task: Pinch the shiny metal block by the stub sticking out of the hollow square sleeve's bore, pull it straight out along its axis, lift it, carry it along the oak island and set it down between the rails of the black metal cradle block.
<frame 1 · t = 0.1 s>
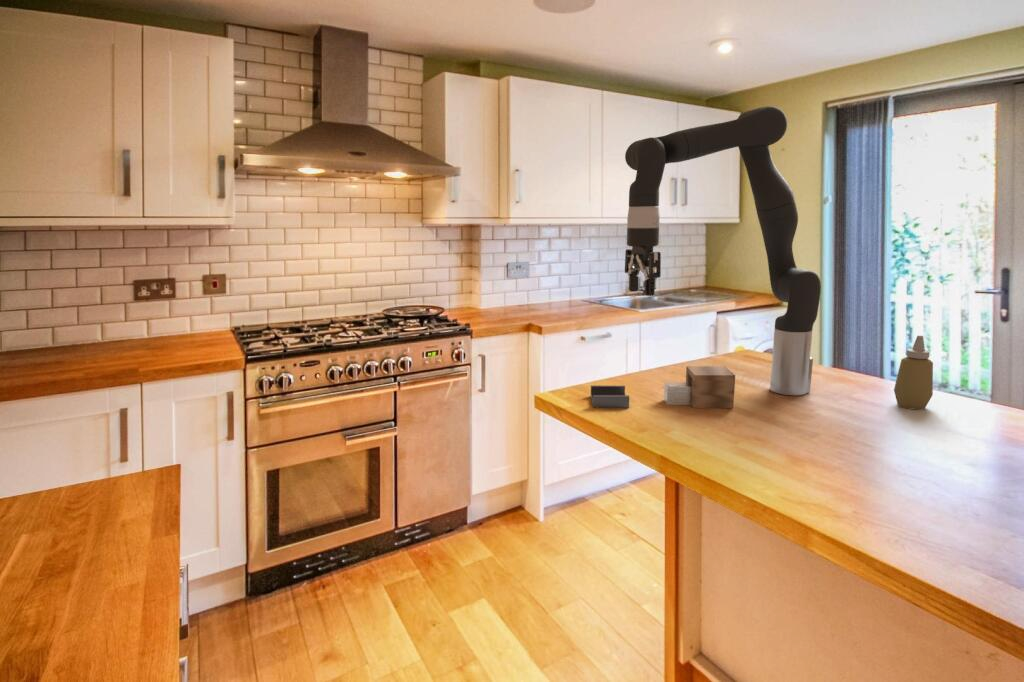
hand: (641, 293, 149), 29 cm above the countertop, fingers open, 8 cm apart
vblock: (609, 401, 159), on the countertop
shiny metal block: (686, 403, 158), on the countertop
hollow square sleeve: (708, 402, 158), on the countertop
squeeze bottle: (911, 407, 152), on the countertop
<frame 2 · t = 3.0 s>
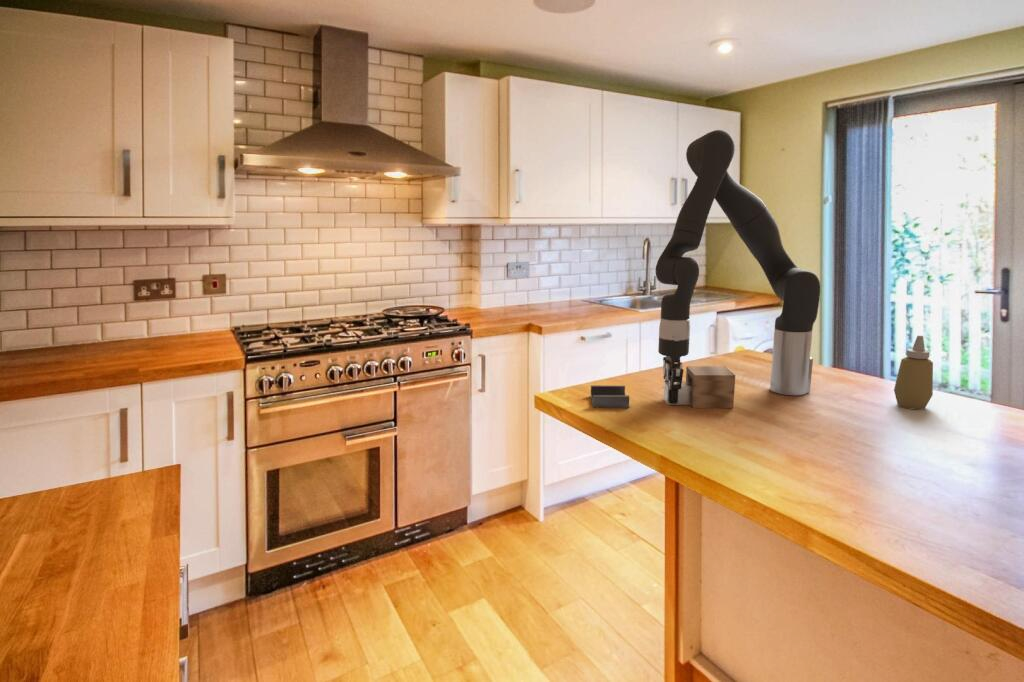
hand: (671, 400, 158), 1 cm above the countertop, fingers closed on shiny metal block, 4 cm apart
shiny metal block: (686, 402, 158), on the countertop, touching gripper
everything else where it was.
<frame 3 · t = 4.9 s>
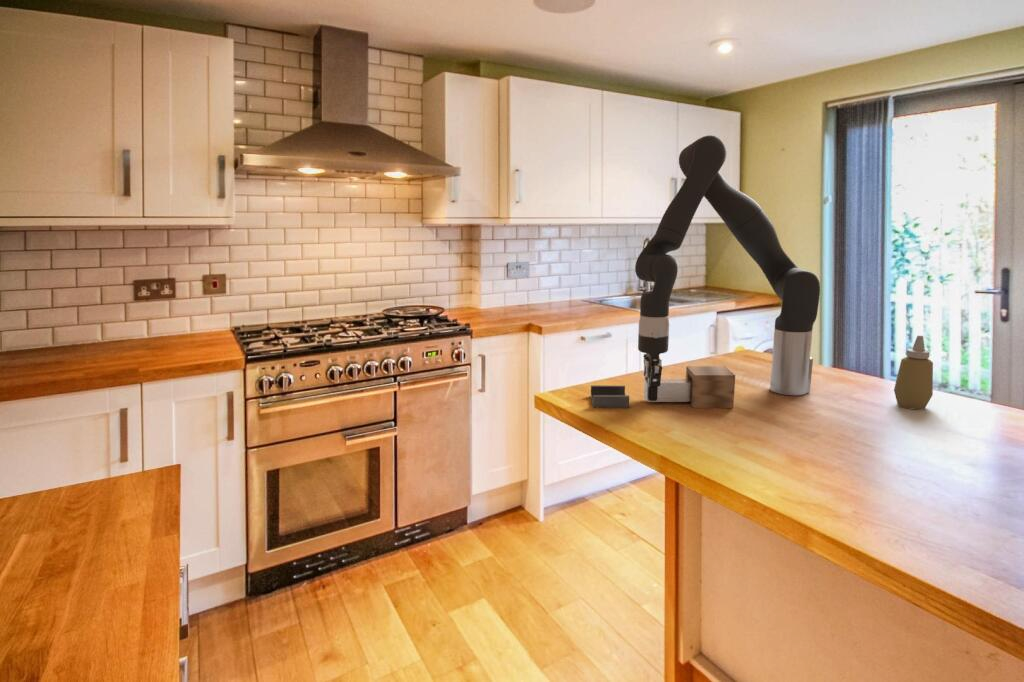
hand: (651, 397, 158), 1 cm above the countertop, fingers closed on shiny metal block, 4 cm apart
shiny metal block: (666, 399, 158), point 1 cm above the countertop, touching gripper
everything else where it was.
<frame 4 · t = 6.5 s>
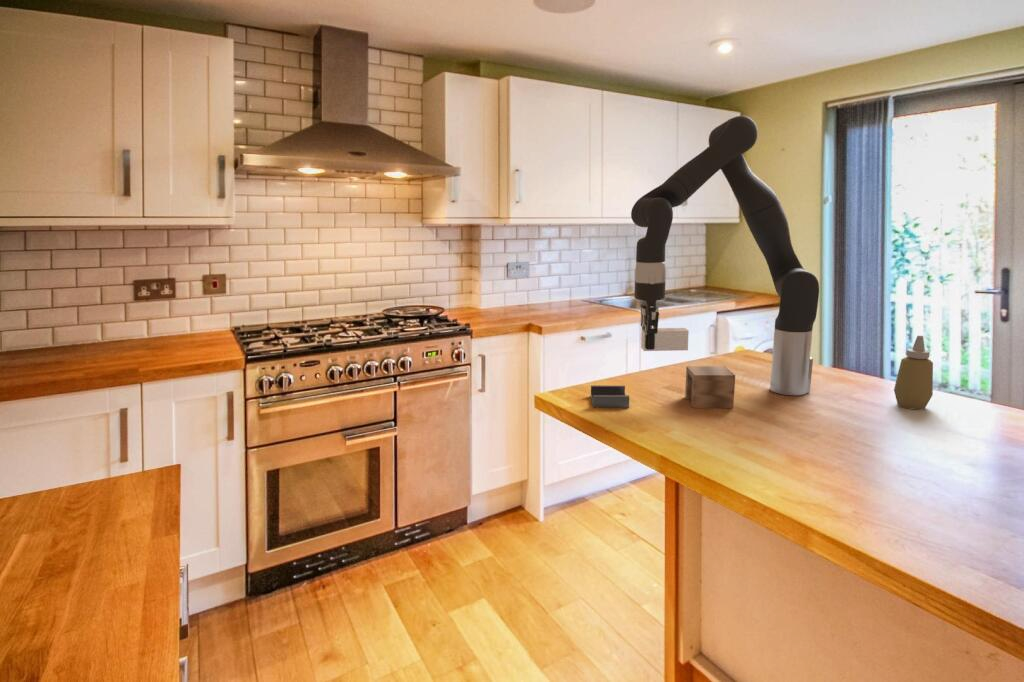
hand: (648, 346, 155), 15 cm above the countertop, fingers closed on shiny metal block, 4 cm apart
shiny metal block: (664, 348, 155), point 14 cm above the countertop, touching gripper
everything else where it was.
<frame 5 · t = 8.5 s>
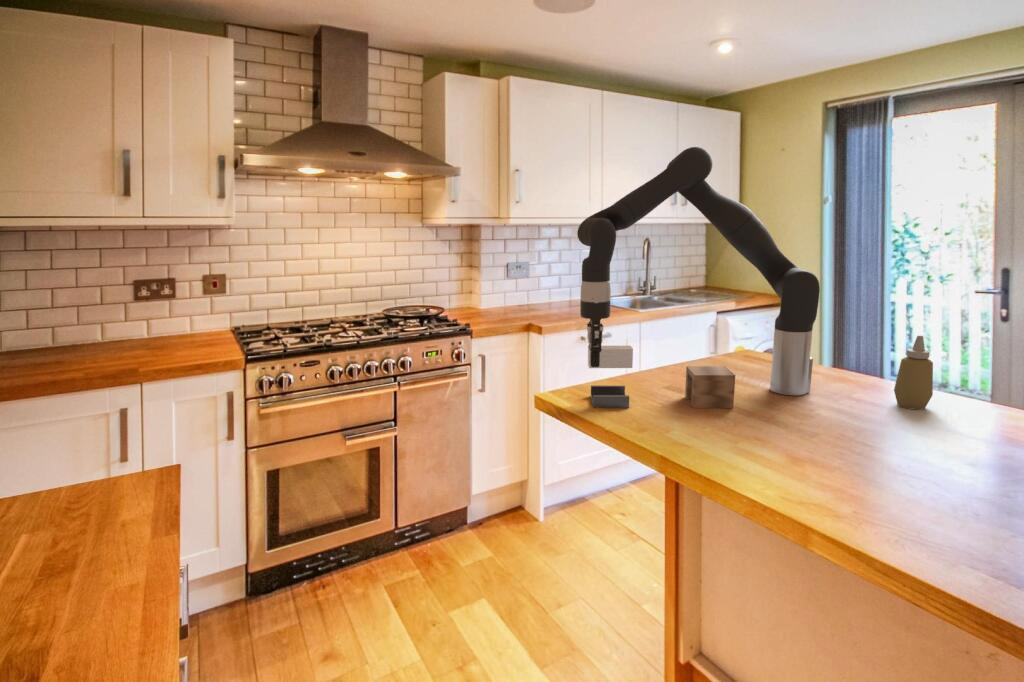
hand: (594, 364, 157), 10 cm above the countertop, fingers closed on shiny metal block, 4 cm apart
shiny metal block: (609, 366, 157), point 10 cm above the countertop, touching gripper
everything else where it was.
when the fingers open (3 cm above the countertop, at t = 10.1 s): shiny metal block drops 1 cm, resting on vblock.
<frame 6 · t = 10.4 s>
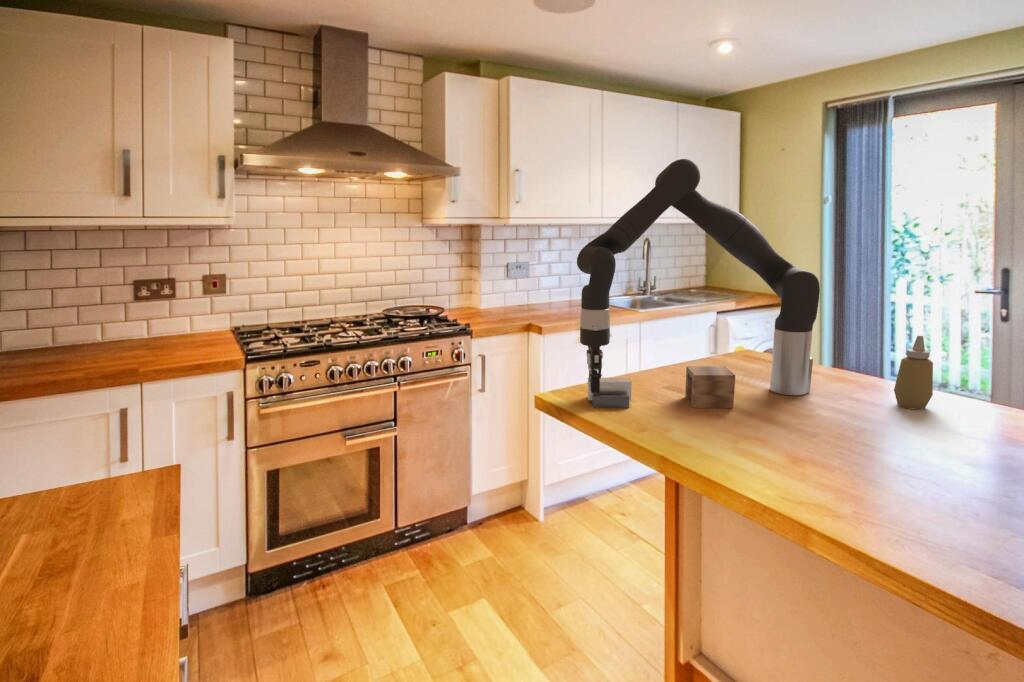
hand: (594, 387, 159), 4 cm above the countertop, fingers open, 7 cm apart
shiny metal block: (609, 398, 159), point 1 cm above the countertop, touching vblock
everything else where it was.
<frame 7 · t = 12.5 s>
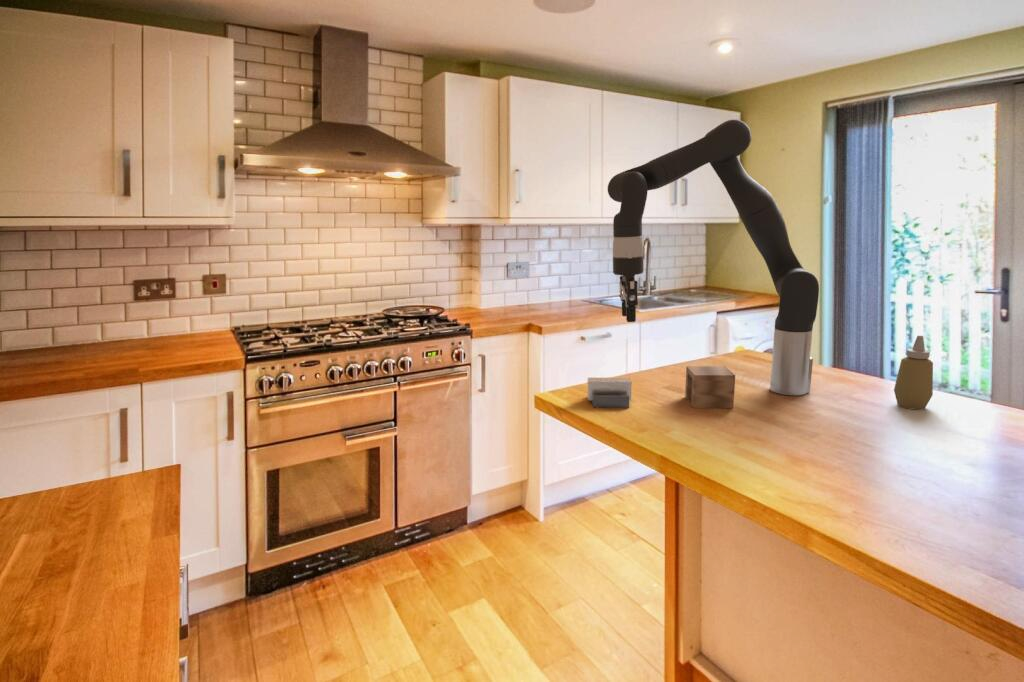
hand: (628, 318, 155), 22 cm above the countertop, fingers open, 8 cm apart
nothing on the countertop moved.
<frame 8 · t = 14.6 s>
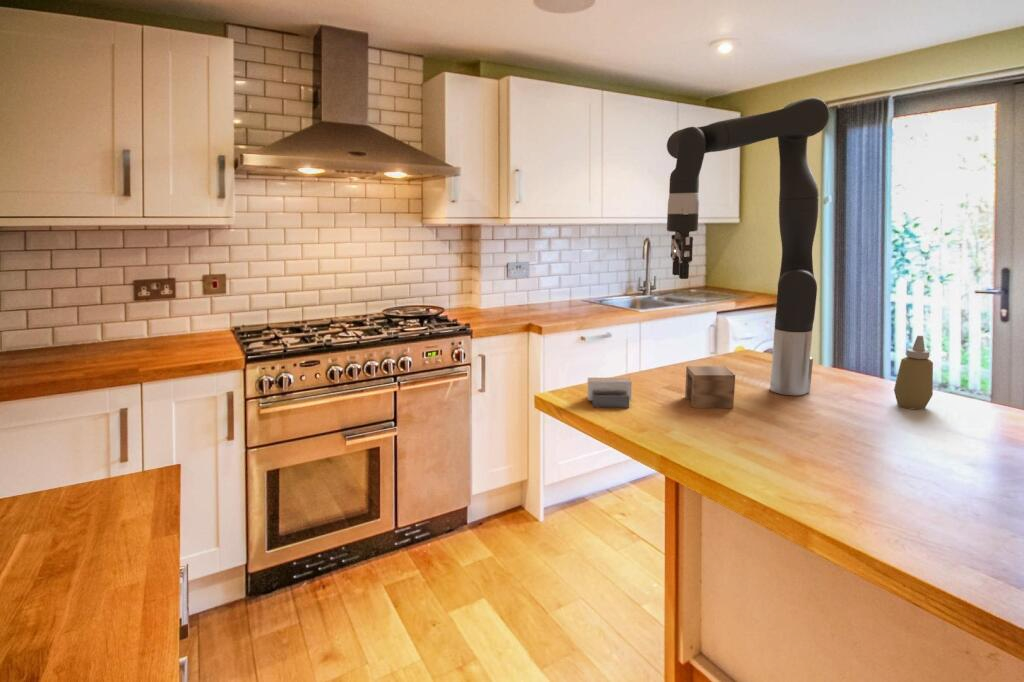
hand: (680, 276, 156), 32 cm above the countertop, fingers open, 8 cm apart
nothing on the countertop moved.
at the end: shiny metal block inside the target area on the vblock (0.1 cm from its centre), point 1.0 cm above the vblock's base; shiny metal block touching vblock; the gripper is holding nothing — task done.
